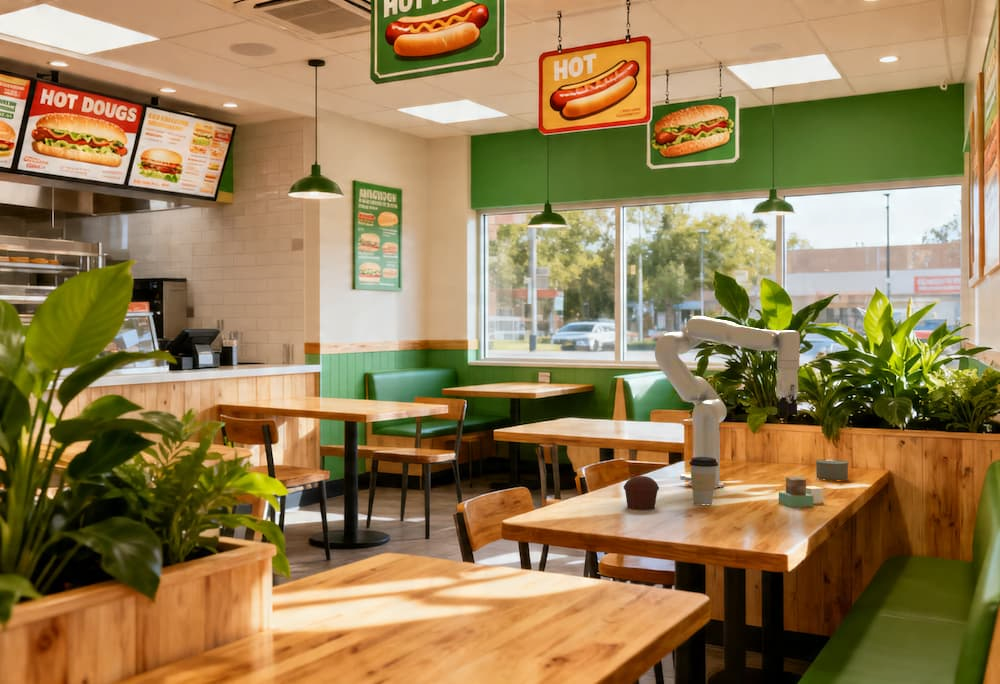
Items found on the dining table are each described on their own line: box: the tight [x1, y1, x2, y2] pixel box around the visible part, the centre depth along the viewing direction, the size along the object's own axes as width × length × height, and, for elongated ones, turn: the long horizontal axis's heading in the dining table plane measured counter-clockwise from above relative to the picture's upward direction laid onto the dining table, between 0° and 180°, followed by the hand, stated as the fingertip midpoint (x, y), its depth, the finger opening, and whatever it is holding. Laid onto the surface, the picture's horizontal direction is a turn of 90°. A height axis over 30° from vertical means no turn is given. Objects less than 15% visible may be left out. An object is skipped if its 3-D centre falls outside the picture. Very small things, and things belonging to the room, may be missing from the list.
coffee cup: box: [689, 456, 718, 505], centre depth 311 cm, size 9×9×15 cm
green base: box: [778, 491, 814, 508], centre depth 311 cm, size 8×8×4 cm
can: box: [815, 458, 849, 481], centre depth 367 cm, size 12×12×7 cm
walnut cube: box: [785, 476, 807, 495], centre depth 311 cm, size 5×5×5 cm
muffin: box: [623, 475, 660, 511], centre depth 304 cm, size 12×11×10 cm
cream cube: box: [806, 485, 824, 504], centre depth 316 cm, size 5×5×5 cm
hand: (787, 413), depth 333 cm, fingers open, 9 cm apart
